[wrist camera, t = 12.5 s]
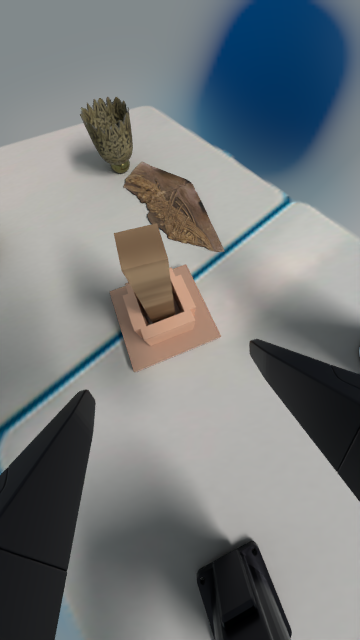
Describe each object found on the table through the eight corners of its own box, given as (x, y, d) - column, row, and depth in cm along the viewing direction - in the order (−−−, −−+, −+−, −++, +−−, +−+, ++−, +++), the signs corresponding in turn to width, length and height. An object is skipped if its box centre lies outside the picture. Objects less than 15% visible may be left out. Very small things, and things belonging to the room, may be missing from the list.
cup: (98, 162, 35) (74, 102, 27) (133, 152, 35) (119, 91, 28) (108, 186, 33) (85, 129, 25) (145, 175, 33) (134, 116, 26)
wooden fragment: (115, 177, 34) (113, 170, 33) (163, 155, 35) (162, 149, 34) (187, 272, 27) (187, 268, 26) (242, 241, 29) (244, 236, 28)
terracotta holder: (219, 338, 24) (228, 328, 19) (136, 372, 22) (123, 371, 18) (185, 268, 27) (186, 245, 22) (112, 294, 26) (95, 276, 21)
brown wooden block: (175, 319, 23) (167, 258, 11) (154, 325, 23) (121, 270, 11) (170, 300, 24) (156, 223, 12) (149, 305, 24) (113, 233, 12)
